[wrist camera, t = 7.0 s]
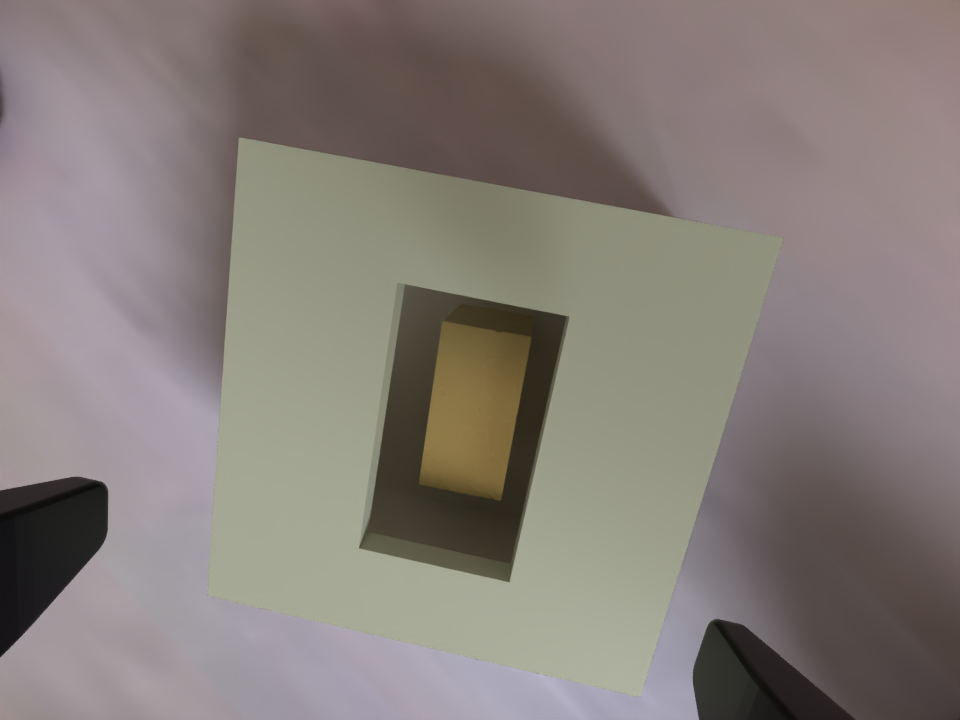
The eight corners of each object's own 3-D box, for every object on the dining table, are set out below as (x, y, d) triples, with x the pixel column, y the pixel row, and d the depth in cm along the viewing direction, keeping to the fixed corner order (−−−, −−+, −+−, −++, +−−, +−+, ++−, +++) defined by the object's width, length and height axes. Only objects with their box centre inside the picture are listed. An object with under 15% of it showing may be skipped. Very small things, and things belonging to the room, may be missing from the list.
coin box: (691, 236, 18) (784, 237, 11) (606, 547, 21) (640, 697, 14) (346, 172, 19) (238, 137, 12) (310, 482, 22) (206, 595, 15)
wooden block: (532, 315, 19) (531, 336, 15) (507, 448, 20) (500, 500, 16) (461, 303, 19) (442, 321, 15) (441, 436, 20) (418, 484, 16)
